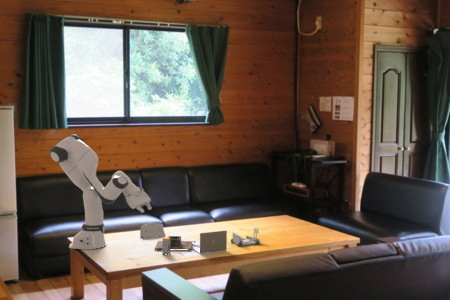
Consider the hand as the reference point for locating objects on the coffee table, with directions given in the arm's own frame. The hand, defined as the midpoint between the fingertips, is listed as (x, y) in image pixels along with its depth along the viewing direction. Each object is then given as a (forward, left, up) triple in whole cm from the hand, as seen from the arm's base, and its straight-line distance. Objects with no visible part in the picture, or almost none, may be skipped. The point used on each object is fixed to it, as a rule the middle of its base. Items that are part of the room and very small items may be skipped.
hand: (147, 210), depth 367 cm
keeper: (+15, +12, -25) cm, 32 cm away
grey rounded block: (-2, +40, -26) cm, 48 cm away
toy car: (+61, +23, -26) cm, 71 cm away
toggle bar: (+12, -5, -25) cm, 29 cm away
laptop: (+37, +6, -26) cm, 46 cm away
